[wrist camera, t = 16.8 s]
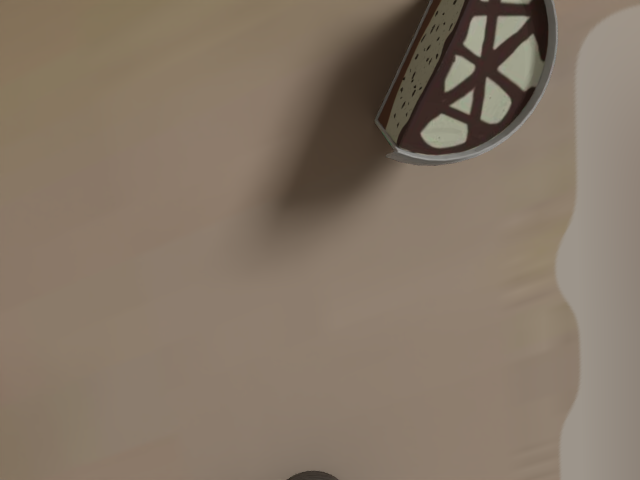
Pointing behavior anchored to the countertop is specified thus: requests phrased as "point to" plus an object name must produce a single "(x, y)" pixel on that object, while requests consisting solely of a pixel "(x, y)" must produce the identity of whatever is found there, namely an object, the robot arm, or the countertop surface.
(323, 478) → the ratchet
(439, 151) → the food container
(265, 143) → the countertop surface
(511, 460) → the countertop surface
